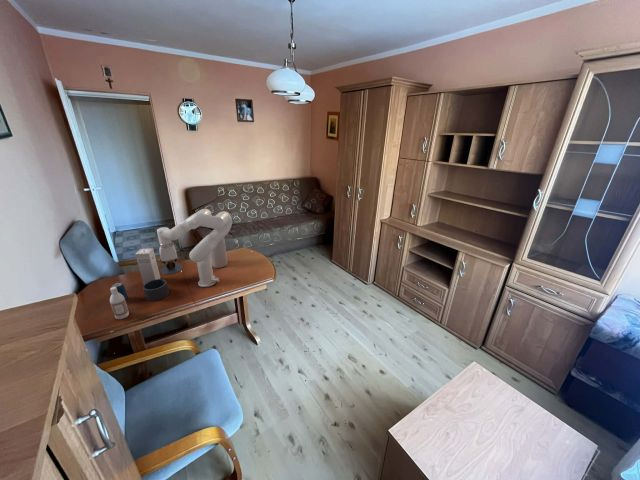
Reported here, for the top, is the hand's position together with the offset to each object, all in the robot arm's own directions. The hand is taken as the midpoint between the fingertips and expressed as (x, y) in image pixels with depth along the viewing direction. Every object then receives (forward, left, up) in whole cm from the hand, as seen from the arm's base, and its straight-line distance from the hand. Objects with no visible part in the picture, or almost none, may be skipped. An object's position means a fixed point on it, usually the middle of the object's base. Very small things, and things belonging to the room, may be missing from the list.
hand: (171, 267), depth 190 cm
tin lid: (0, 0, -1) cm, 1 cm away
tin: (+4, +16, -12) cm, 21 cm away
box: (+17, -1, -12) cm, 21 cm away
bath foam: (+13, +38, -12) cm, 42 cm away
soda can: (+24, +22, -12) cm, 35 cm away
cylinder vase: (-24, -28, -12) cm, 39 cm away
